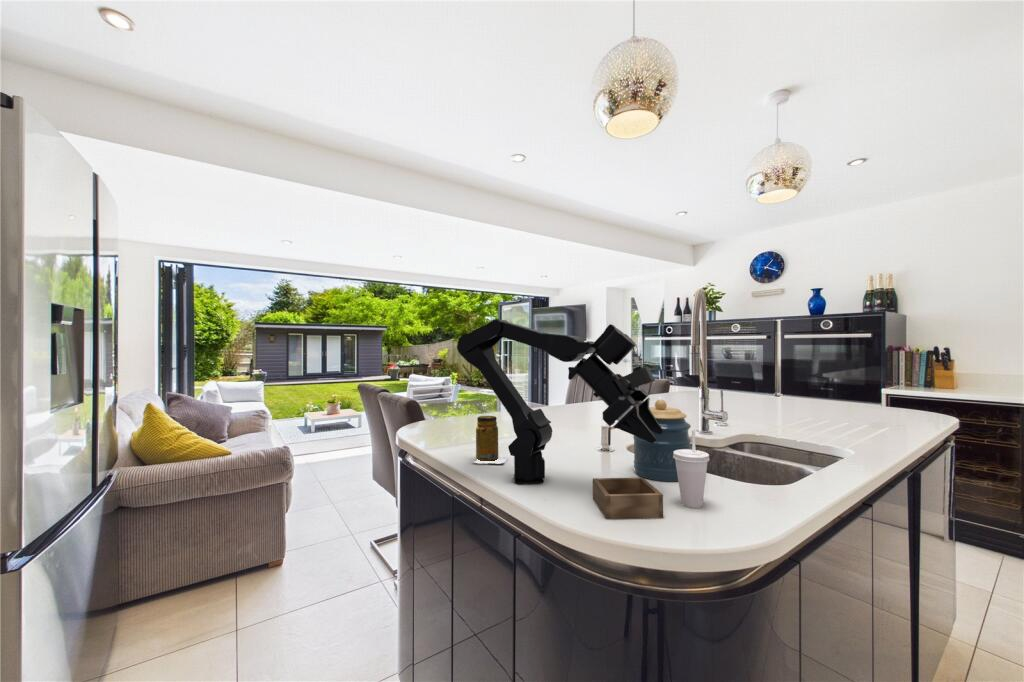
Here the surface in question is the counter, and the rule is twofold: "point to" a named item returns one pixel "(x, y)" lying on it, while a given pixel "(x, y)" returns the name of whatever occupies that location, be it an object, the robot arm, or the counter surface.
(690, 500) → the smoothie
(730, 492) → the counter surface
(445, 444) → the counter surface
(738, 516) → the counter surface
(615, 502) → the wooden box
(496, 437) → the condiment
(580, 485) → the counter surface
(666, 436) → the canister
